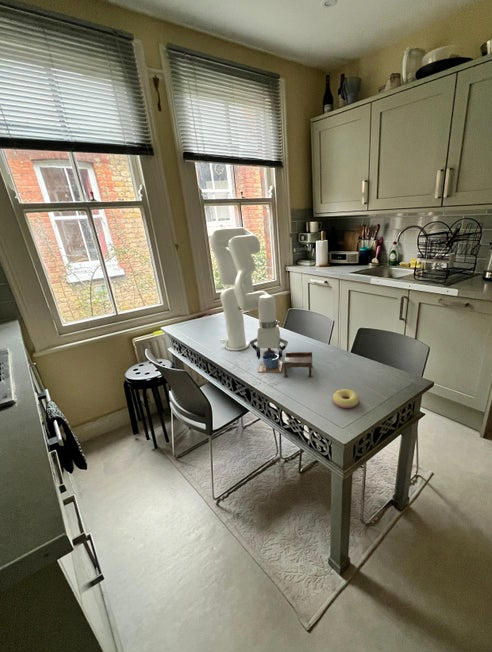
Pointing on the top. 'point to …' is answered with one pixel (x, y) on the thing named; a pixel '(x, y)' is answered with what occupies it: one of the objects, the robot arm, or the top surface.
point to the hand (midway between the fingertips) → (269, 358)
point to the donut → (345, 402)
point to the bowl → (270, 361)
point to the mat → (277, 370)
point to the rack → (298, 361)
